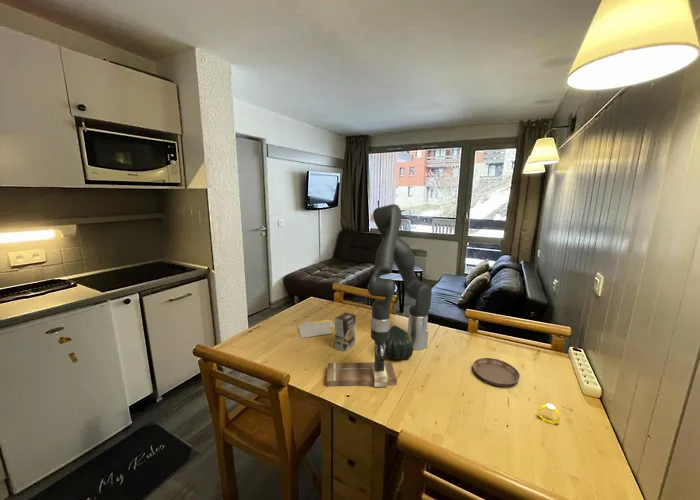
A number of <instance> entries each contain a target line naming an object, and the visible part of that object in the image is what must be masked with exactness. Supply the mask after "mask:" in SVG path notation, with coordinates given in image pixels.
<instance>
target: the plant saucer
mask: <svg viewBox="0 0 700 500" xmlns="http://www.w3.org/2000/svg"><path fill="white" fill-rule="evenodd" d="M472 363H473V364H472V367H473V369H474V372H475V373H476V375H477V376H478V377H479V378H480V379H481V380H483V381H484V382H486V383H488V384H491V385H493V386H497V387H509V386H512V385H514V384H516V383H517V382H518V381H520V377H521V376H520V373H519V370H517V369H516V368H515V366H513V365H512V364H510V363H507V362H506V361H504V360H501V359H497V358H491V357H481V358H477V359H476V360H474V362H472Z"/></svg>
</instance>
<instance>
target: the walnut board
mask: <svg viewBox="0 0 700 500" xmlns="http://www.w3.org/2000/svg"><path fill="white" fill-rule="evenodd" d="M372 363H375V361H374V362H371V361H369V362H328V363H327V369H326V370H327V371H326V387H365V386H366V387H368V386H370V387H371V386H374V375H373V370H372ZM384 365H385V369H386V373H387V377H388V378H387V386H397V385H398V384H397V383H398V378H397V375H396V372H395V368H394V365H393V362H391V361H385V362H384ZM374 387H375V386H374Z"/></svg>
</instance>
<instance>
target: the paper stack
mask: <svg viewBox="0 0 700 500" xmlns="http://www.w3.org/2000/svg"><path fill="white" fill-rule="evenodd" d="M303 324H304V325H303ZM303 324H302V325H298V326H297V328H298V330H299V331H298V332H299V335H300V337H301V339H302V338H304V339H305V338H309V337H311V338H312V337H317V336H323V335H330V334H333V332H332V330H331V329H330V328H335V322H334V321H333V320H332V322H330V320H329V322H328V321H327V322H324V321H323V323H322V322H321V323H318V324H315V323H314V324H313V322H311V321H304V322H303Z"/></svg>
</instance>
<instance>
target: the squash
mask: <svg viewBox="0 0 700 500" xmlns="http://www.w3.org/2000/svg"><path fill="white" fill-rule="evenodd" d="M384 344H385V345H386V348H385V352H386V354H385V357H387V358H388V359H389V360H396V361H397V360H400V359H401V360H402V359H404V360H406V359H410V358H411V357H412V355H413V354H414V349H413V340H412V338H411V336H410V335H409V334H408V331H406V330H404V329H403V328H401V327H398V326H397V325H392V326H390V338H389V340H387V341H385V343H384Z"/></svg>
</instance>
